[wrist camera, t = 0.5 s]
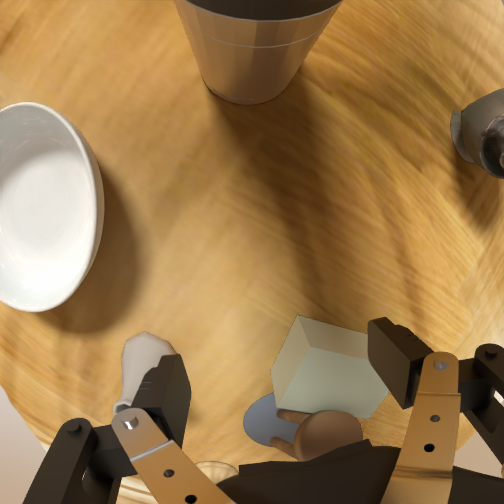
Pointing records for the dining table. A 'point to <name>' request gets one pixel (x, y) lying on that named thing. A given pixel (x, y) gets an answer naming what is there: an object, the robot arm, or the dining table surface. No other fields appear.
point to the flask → (139, 364)
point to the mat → (268, 422)
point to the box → (326, 371)
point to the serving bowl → (46, 207)
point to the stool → (318, 433)
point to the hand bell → (216, 470)
